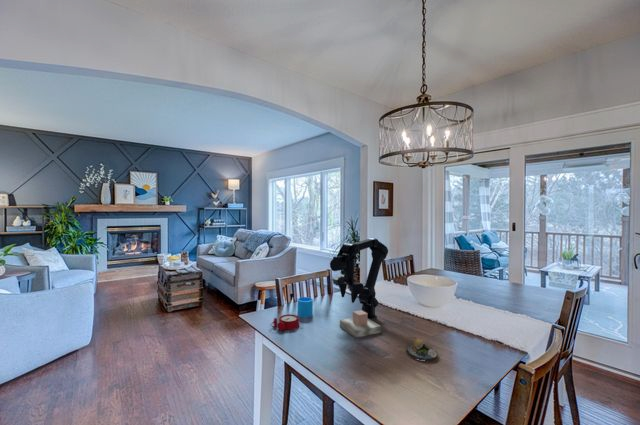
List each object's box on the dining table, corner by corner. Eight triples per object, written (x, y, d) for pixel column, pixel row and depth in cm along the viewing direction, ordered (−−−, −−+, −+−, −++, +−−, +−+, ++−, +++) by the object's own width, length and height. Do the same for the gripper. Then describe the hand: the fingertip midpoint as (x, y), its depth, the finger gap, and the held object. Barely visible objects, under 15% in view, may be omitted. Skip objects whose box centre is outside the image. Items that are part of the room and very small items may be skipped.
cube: (361, 320, 142) (361, 310, 142) (367, 324, 138) (367, 313, 138) (352, 321, 140) (352, 311, 140) (358, 325, 135) (358, 315, 135)
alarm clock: (305, 319, 140) (278, 318, 132) (303, 332, 140) (275, 332, 131) (294, 312, 149) (268, 311, 140) (292, 325, 148) (265, 324, 140)
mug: (314, 316, 154) (315, 300, 154) (300, 318, 151) (300, 302, 151) (307, 308, 165) (307, 294, 165) (293, 310, 162) (293, 295, 162)
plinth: (363, 321, 148) (363, 315, 148) (380, 332, 136) (380, 326, 136) (339, 326, 142) (339, 320, 142) (355, 337, 129) (355, 331, 129)
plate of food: (434, 366, 108) (434, 346, 108) (402, 356, 114) (403, 338, 114) (440, 352, 118) (440, 334, 118) (410, 345, 124) (411, 327, 124)
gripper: (325, 266, 149) (324, 296, 149) (344, 274, 132) (343, 308, 133) (343, 264, 154) (343, 294, 154) (364, 272, 138) (363, 304, 138)
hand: (347, 299), depth 145 cm, fingers open, 9 cm apart
